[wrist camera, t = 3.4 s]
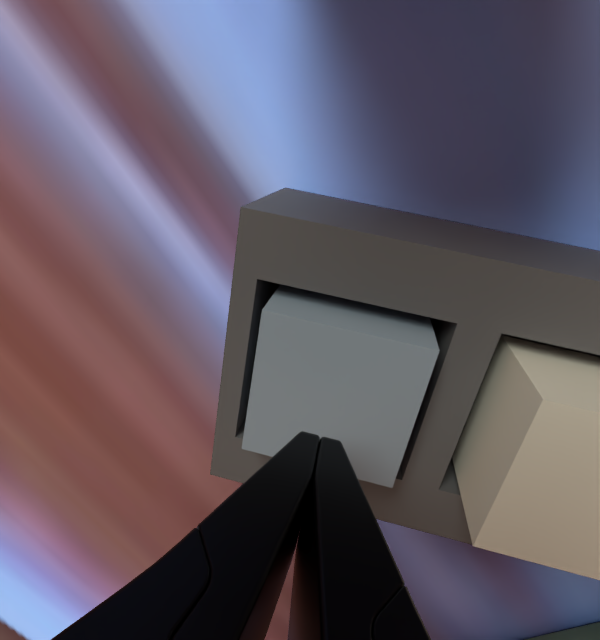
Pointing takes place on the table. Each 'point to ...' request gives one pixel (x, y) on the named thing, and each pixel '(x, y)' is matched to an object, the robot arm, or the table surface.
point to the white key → (535, 457)
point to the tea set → (574, 633)
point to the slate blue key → (339, 378)
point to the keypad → (413, 297)
